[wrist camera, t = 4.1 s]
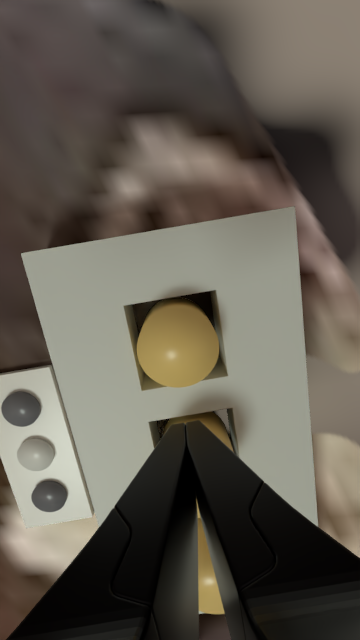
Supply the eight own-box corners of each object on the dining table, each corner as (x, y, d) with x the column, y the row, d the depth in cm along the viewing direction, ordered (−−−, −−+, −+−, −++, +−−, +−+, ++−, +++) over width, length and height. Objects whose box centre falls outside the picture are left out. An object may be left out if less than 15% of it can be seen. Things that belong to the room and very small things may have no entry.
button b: (222, 402, 18) (236, 442, 15) (230, 459, 19) (246, 510, 16) (157, 414, 18) (153, 456, 15) (168, 469, 19) (168, 524, 16)
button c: (236, 493, 20) (251, 551, 16) (243, 542, 21) (259, 607, 17) (175, 503, 20) (177, 564, 16) (185, 551, 21) (189, 619, 17)
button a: (203, 291, 18) (213, 302, 14) (213, 354, 19) (224, 380, 15) (137, 303, 18) (129, 316, 14) (150, 365, 19) (145, 393, 15)
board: (273, 214, 18) (294, 205, 15) (303, 550, 23) (323, 593, 21) (45, 253, 18) (20, 253, 15) (132, 579, 23) (127, 626, 21)
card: (51, 364, 19) (47, 368, 19) (93, 512, 22) (91, 520, 21) (-23, 377, 19) (-30, 382, 19) (28, 523, 22) (24, 532, 21)
